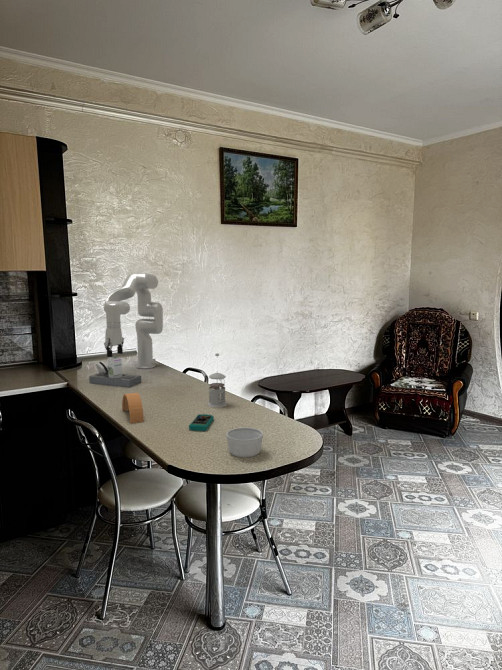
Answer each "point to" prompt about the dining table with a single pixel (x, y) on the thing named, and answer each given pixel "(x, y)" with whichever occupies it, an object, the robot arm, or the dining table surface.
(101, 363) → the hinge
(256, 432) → the ramekin
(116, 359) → the syrup box
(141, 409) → the arch
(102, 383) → the gray compartment tray
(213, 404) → the french press
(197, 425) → the digital multimeter
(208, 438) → the dining table surface
